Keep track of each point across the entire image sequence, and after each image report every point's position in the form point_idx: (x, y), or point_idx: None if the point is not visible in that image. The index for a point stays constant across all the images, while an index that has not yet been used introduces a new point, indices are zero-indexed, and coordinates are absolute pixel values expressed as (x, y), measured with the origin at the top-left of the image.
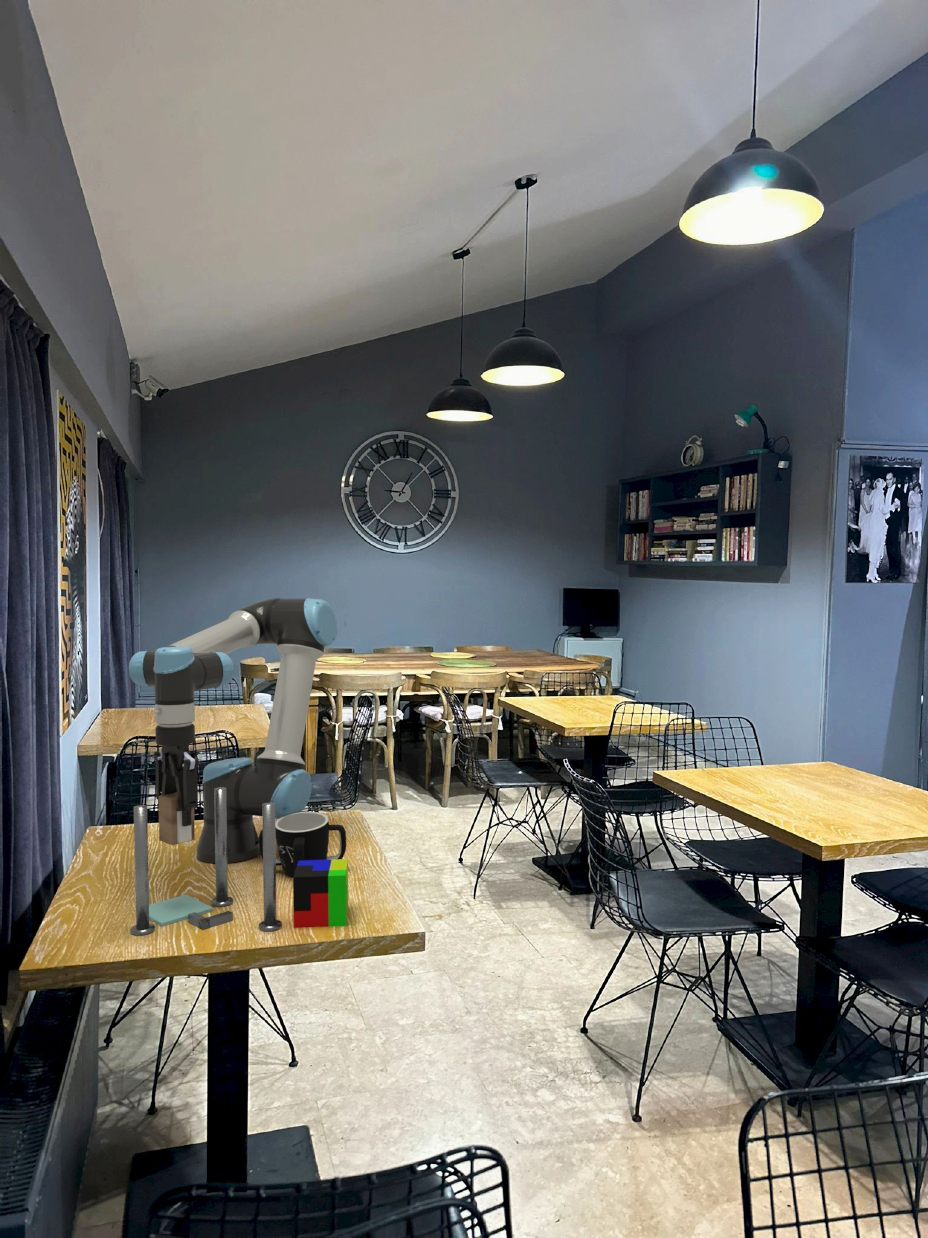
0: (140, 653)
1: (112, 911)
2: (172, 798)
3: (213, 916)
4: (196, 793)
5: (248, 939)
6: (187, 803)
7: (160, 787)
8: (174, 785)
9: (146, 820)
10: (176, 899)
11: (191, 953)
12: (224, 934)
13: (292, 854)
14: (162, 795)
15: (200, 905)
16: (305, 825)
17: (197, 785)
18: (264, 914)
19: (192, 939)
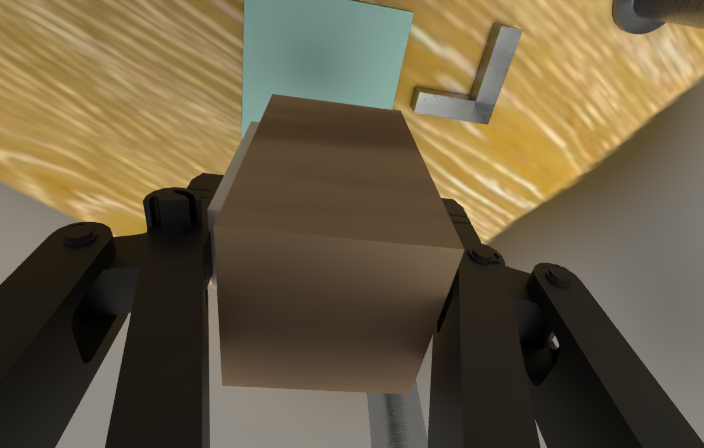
0: None
1: (197, 171)
2: (375, 371)
3: (489, 84)
4: (627, 360)
5: (623, 90)
6: (552, 357)
7: (87, 375)
8: (203, 348)
9: (426, 440)
10: (263, 34)
11: (540, 202)
12: (548, 104)
13: None
14: (228, 367)
15: (366, 22)
16: None
17: (691, 428)
18: (662, 20)
19: (495, 162)
